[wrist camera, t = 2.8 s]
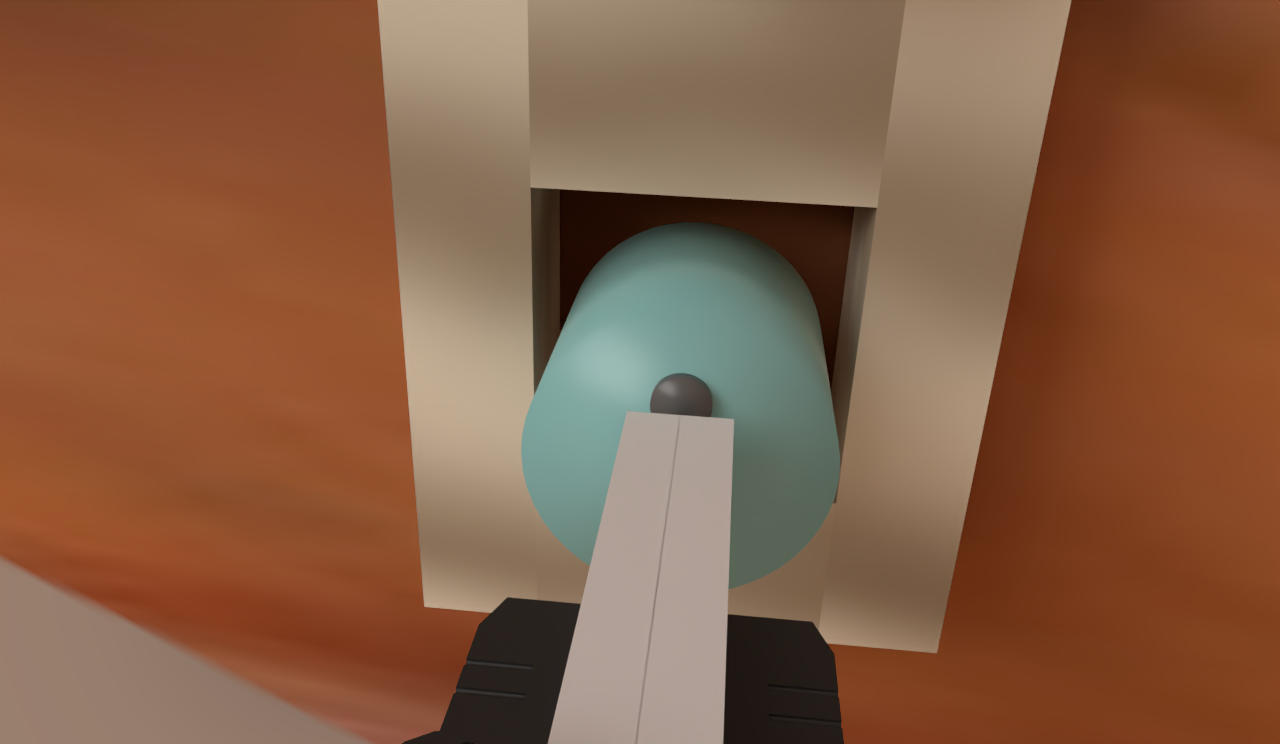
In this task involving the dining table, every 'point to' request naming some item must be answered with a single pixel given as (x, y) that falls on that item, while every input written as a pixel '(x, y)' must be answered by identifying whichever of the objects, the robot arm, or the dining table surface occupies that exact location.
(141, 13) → the dining table surface
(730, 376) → the button
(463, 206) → the wooden compartment tray
